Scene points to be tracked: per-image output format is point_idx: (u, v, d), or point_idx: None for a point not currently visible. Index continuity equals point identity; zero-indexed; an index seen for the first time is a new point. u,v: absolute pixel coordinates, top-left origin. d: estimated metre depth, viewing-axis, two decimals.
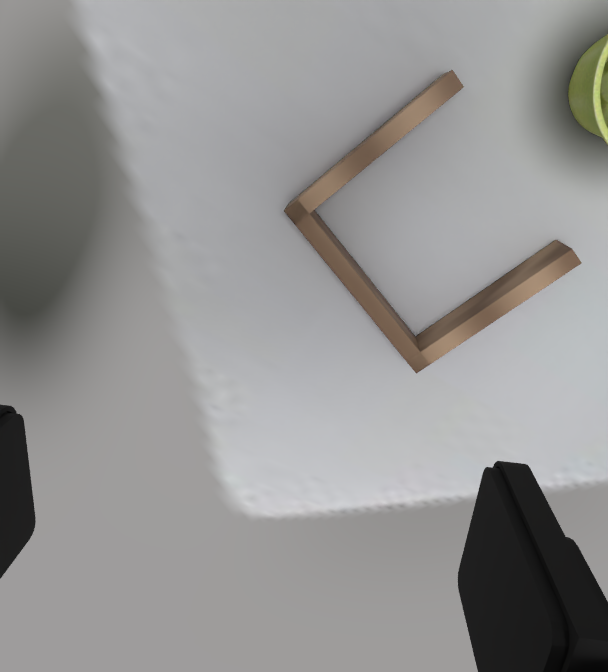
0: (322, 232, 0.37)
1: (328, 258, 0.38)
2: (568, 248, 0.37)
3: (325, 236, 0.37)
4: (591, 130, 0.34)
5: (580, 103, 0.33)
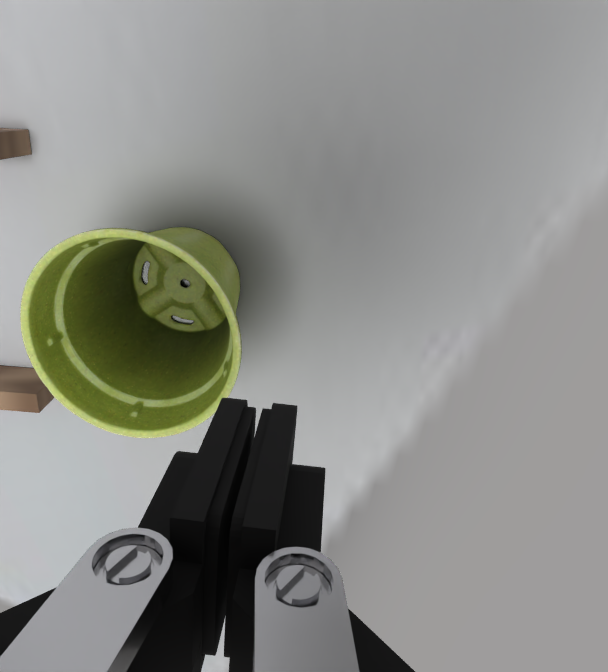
0: None
1: None
2: (38, 390, 0.32)
3: None
4: None
5: None
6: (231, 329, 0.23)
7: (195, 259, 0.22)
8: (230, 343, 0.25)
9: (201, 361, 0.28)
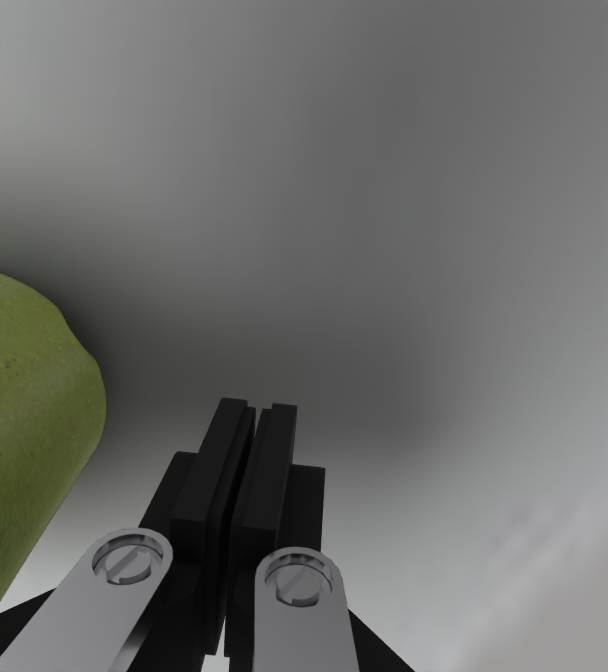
0: None
1: None
2: None
3: None
4: None
5: None
6: None
7: None
8: None
9: None
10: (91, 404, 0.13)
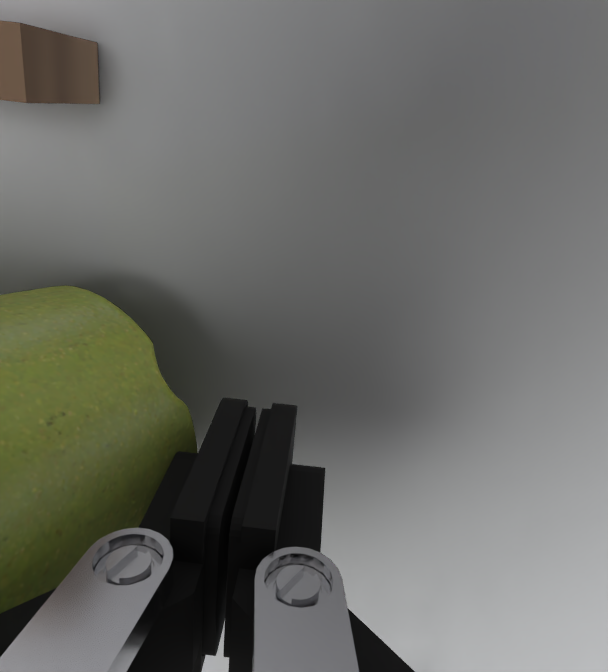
0: None
1: None
2: None
3: None
4: None
5: None
6: None
7: None
8: None
9: None
10: (170, 460, 0.11)
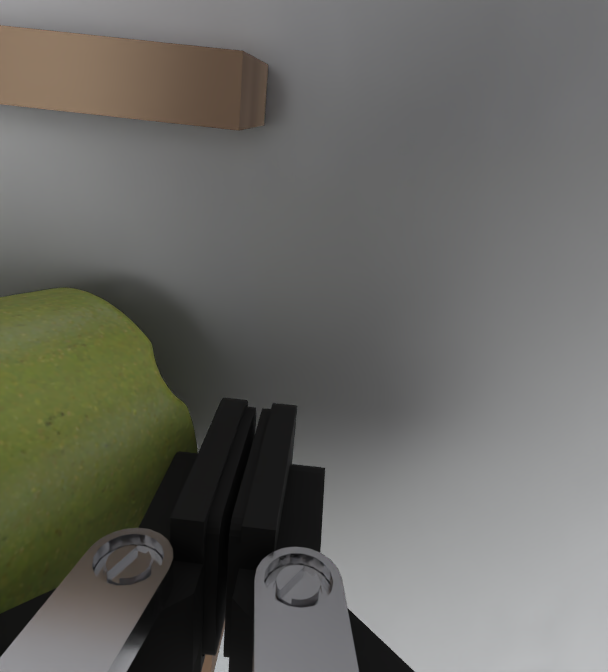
0: None
1: None
2: None
3: None
4: None
5: None
6: None
7: None
8: None
9: None
10: (169, 460, 0.11)
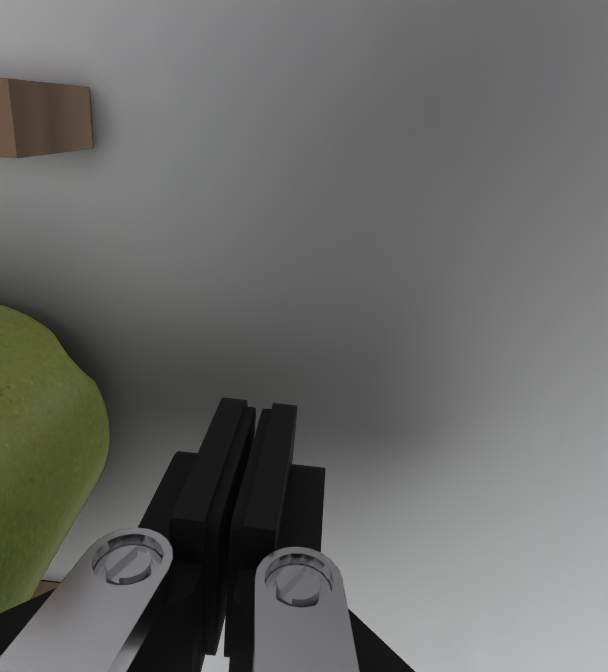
0: None
1: None
2: None
3: None
4: None
5: None
6: None
7: None
8: None
9: None
10: (92, 425, 0.13)
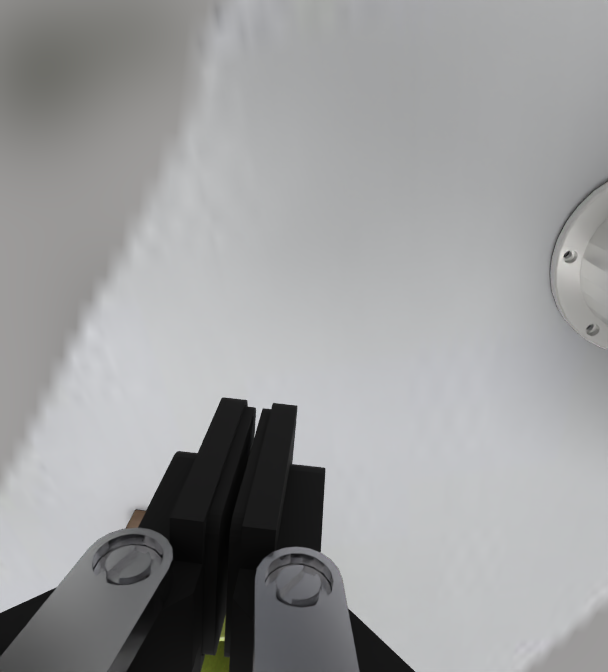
0: None
1: None
2: None
3: None
4: None
5: None
6: None
7: None
8: None
9: None
10: None
